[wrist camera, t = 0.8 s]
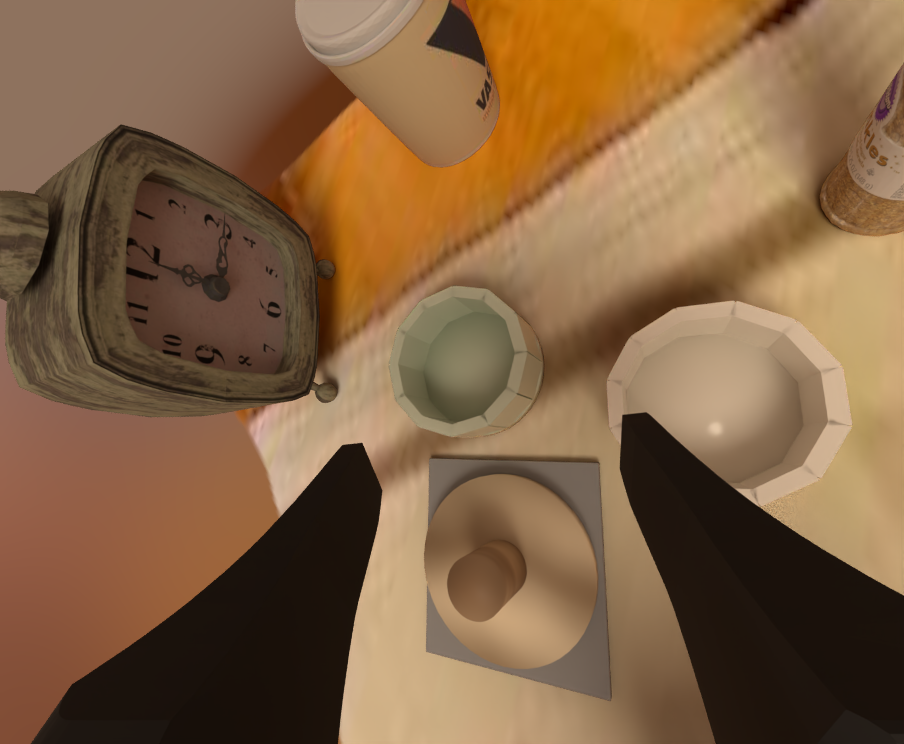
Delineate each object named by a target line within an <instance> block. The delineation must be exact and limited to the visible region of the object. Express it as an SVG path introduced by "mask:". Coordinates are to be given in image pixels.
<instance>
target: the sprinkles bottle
mask: <svg viewBox="0 0 904 744" xmlns="http://www.w3.org/2000/svg"><path fill="white" fill-rule="evenodd" d="M820 201H821V208H822V210H823V212H824V213H825V215H826V217H828V218H829V220H830V222H832V223H833V224H834V225H837V226H838V227H840V228H841V229H843V230H845V231H848V232H851V233H855V234H860V235H868V236H884V235H888V234H894V233H899V232H902V231H904V63H903V65H902V66H901V68H900V69H899V71H898V73H897V74H896V76H895V77H894V79H893V80H892V82H891V83H890V85H889V86H888V88H887V89H886V91H885V93H884V94H883V96H882V97H881V99H880V100H879V102H878V103H877V105H876V106H875V108H874V109H873V111H872V112H871V114H870V115H869V117H868V118H867V120H866V121H865V123H864V124H863V126H862V127H861V129H860V130H859V132H858V133H857V135H856V136H855V138H854V140H853V142H852V144H851V146H850V148H849V150H848V151H847V153H846V154H845V156H844V157H843V159H842V160H841V162H840V163H839V164H838V165H837V166H836V167H835V168H834V169H833V170H832V171H831V173H830V174H829V176H828V177H827V179H826V180H825V182H824V184H823V186H822V189H821V194H820Z"/></svg>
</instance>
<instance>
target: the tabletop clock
mask: <svg viewBox="0 0 904 744" xmlns="http://www.w3.org/2000/svg"><path fill="white" fill-rule="evenodd" d="M334 273H335V268H334V265H333V264H332V263H331V262H330V261H328V260H324V259H323V260H320V261H318V262H317V263H316V261H315V256H314V252H313V248H312V245H311V242H310V238H309V236H308V235H307V234H306V232H305V231H304V230H303V229H302V228H301V227H300V226H299V225H298V224H297V222H296V221H295V220H293V219H292V218H291V217H290V216H289V215H288V214H286V213H285V212H284V211H283V210H282V209H280V208H279V207H278V206H277V205H275V204H274V203H273V202H271V201H270V200H268V199H267V198H266V197H264V196H263V195H261V194H260V193H259V192H257V191H256V190H254V189H253V188H251V187H250V186H249V185H247V184H246V183H244V182H243V181H242V180H240V179H239V178H237V177H236V176H234V175H232V174H231V173H229V172H227V171H225V170H223V169H222V168H220V167H218V166H216V165H215V164H213V163H211V162H209V161H207V160H206V159H204V158H202V157H200V156H198V155H197V154H195V153H193V152H191V151H189V150H188V149H186V148H184V147H182V146H180V145H178V144H175V143H173V142H171V141H169V140H167V139H164V138H162V137H160V136H158V135H155V134H153V133H150V132H147V131H143V130H139V129H136V128H132V127H128V126H125V125H119V126H118V127H117V128H116V129H114V130H113V131H112V132H110V133H109V134H108V135H106V136H105V137H104V138H102V139H101V140H100V141H98V142H97V143H96V144H95V145H93V146H92V147H91V148H90V149H88V150H87V151H85V152H84V153H83V154H81V155H80V156H79V157H78V158H76V159H75V160H74V161H72V162H71V163H70V164H68V165H67V166H66V167H65V168H63V169H62V170H61V171H59V172H58V173H57V174H55V175H54V176H53V177H52V178H50V179H49V180H48V181H47V182H46V183H45V184H44V185H42V186H41V187H40V188H39V189H38V190H37V191H36V192H35V194H30V193H24V192H18V191H0V298H1V299H3V300H5V301H7V311H6V337H5V340H6V342H5V345H6V350H7V356H8V361H9V364H10V366H11V369H12V371H13V373H14V376H15V378H16V380H17V383H18V385H19V387H20V388H23V389H25V390H28V391H30V392H33V393H35V394H38V395H40V396H42V397H44V398H47V399H49V400H52V401H55V402H60V403H63V404H68V405H72V406H77V407H81V408H86V409H91V410H98V411H107V412H114V413H122V414H130V415H138V416H146V417H186V416H187V417H189V416H207V415H214V414H220V413H226V412H232V411H237V410H243V409H249V408H254V407H260V406H265V405H271V404H276V403H282V402H287V401H293V400H296V399H298V398H301V397H303V396H306V395H308V394H309V393H310V390H314V391H315V394H316V397H317V399H318V400H319V401H321V402H323V403H328V402H331V401H333V400H334V399H335V397H336V395H337V391H336V388H335V387H334V386H333V385H332V384H331V383H323V384H320V385H318V384H316V383H315V382H313V381H314V378H315V373H316V368H317V356H318V337H319V317H320V315H319V298H318V282H317V275H318V276H319V277H321V278H323V279H329V278H331V277H332V276H333V275H334Z"/></svg>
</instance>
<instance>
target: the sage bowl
mask: <svg viewBox="0 0 904 744" xmlns="http://www.w3.org/2000/svg"><path fill="white" fill-rule="evenodd" d="M398 329H399V330H397V333H396V337H395V341H394V345H393V349H392V353H391V357H390V361H389V364H390V365H389V370H390V376H391V381H392V386H393V391H394V396H395V399H396V402H397V403H398V404H399V405H400V406H401V407H402V409H403V410H404V411H405V412H406V413H407V415H408V416H409V417H410V418H411V419H412V421H413V422H414V423H415V424H416V425H417V426H418V427H420V428H423V429H427V430H430V431H433V432H437V433H440V434H443V435H446V436H450V437H466V438H476V437H479V436H489V435H494V434H497V433H500V432H502V431H505V430H506V429H508V428H510V427H512V426H513V425H515V424H516V423H517V422H519V421H520V420H521V419H522V418H523V417H524V416H525V415H526V414H527V412H528V411H529V410H530V409H531V407H532V406H533V404H534V402H535V401H536V399H537V396H538V394H539V392H540V389H541V385H542V381H543V375H544V359H543V353H542V348H541V345H540V343H539V340H538V338H537V336H536V334H535V333H534V331H533V330H532V327H531V326H530V325H529V324H528V323H527V322H526V321H525V320H523V319H522V318H521V317H520V316H519V315H518V314H517V313H516V312H515V311H513V310H512V309H511V308H510V307H509V306H508V305H506V304H505V303H504V302H503V301H502V300H500V299H499V298H498V297H497V296H496V295H494V294H493V293H492V292H491V291H490V290H488V289H483V288H473V287H463V286H454V285H453V286H451V287H448V288H446V289H444V290H442V291H440V292H438V293H436V294H433V295H431V296H429V297H427V298H425V299H423V300H421V301H420V302H419V303H418V304H417V305H416V307H415V308H414V309H413V310H412V312H411V313H410V314H409V315H408V317H407V318H406V319H405V320H404V322H403V323H402V324H401V325H400V327H399V328H398Z"/></svg>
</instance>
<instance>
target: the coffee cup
mask: <svg viewBox="0 0 904 744" xmlns="http://www.w3.org/2000/svg"><path fill="white" fill-rule="evenodd" d="M295 15H296V21H297V25H298V28H299V30H300V32H301V34H302V38H303V41H304V43H305V45H306V47H307V49H308V50H309V51H310V53H311V54H312V55H313V56H314V57H315V58H317V59H318V60H319V61H320V62H322V63H324V64H325V65H326V66H327V67H328V68H329V69H330V70H331V71H332V72H333V73H334V74H335V75H336V76H337V77H338V78H339V79H340V80H341V81H342V82H343V83H344V84H345V85H346V86H347V87H348V89H350V90H351V92H352V93H353V94H354V95H356V97H357V98H358V99H359V100H360V101H361V102H362V103H363V104H364V105H365V106H366V107H367V108H368V109H369V110H370V111H371V112H372V113H373V114H374V115H375V116H376V117H377V118H378V119H379V120H380V121H381V122H382V123H383V124H384V125H385V126H386V127H387V128H388V129H389V130H390V131H391V132H392V133H393V134H394V135H395V136H396V137H397V138H398V139H399V140H400V141H401V142H402V143H403V144H404V145H405V146H406V147H407V148H409V149H410V150H411V151H412V152H413V153H414V154H415V155H416V156H417V157H418V158H419V159H420V160H421V161H423V162H424V163H426V164H428V165H430V166H434V167H448V166H452V165H455V164H457V163H460V162H462V161H464V160H465V159H467V158H469V157H470V156H472V155H473V154H474V153H475V152H476V151H477V150H479V149H480V148H481V146H482V145H483V144H484V143H485V142H486V140H487V139H488V138H489V136H490V135H491V133H492V131H493V129H494V127H495V125H496V122H497V119H498V114H499V106H500V104H499V96H498V92H497V88H496V85H495V82H494V79H493V76H492V73H491V70H490V68H489V65H488V62H487V59H486V56H485V54H484V51H483V48H482V45H481V43H480V40H479V37H478V34H477V31H476V29H475V26H474V23H473V20H472V18H471V15H470V12H469V9H468V6H467V4H466V1H465V0H296V4H295Z"/></svg>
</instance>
